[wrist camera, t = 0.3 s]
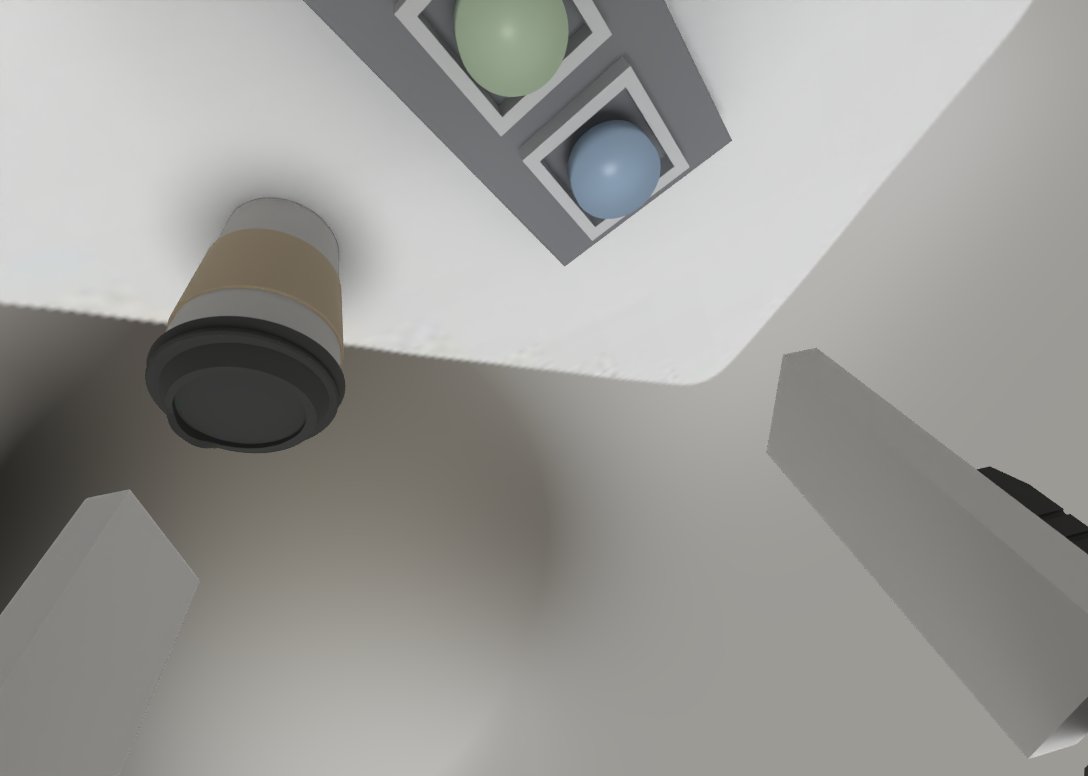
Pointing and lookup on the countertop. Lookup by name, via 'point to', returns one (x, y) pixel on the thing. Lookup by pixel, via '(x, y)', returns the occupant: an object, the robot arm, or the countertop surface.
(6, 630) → the robot arm
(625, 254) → the countertop surface
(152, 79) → the countertop surface
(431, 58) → the panel
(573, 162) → the button slate
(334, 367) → the coffee cup
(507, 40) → the button sage
